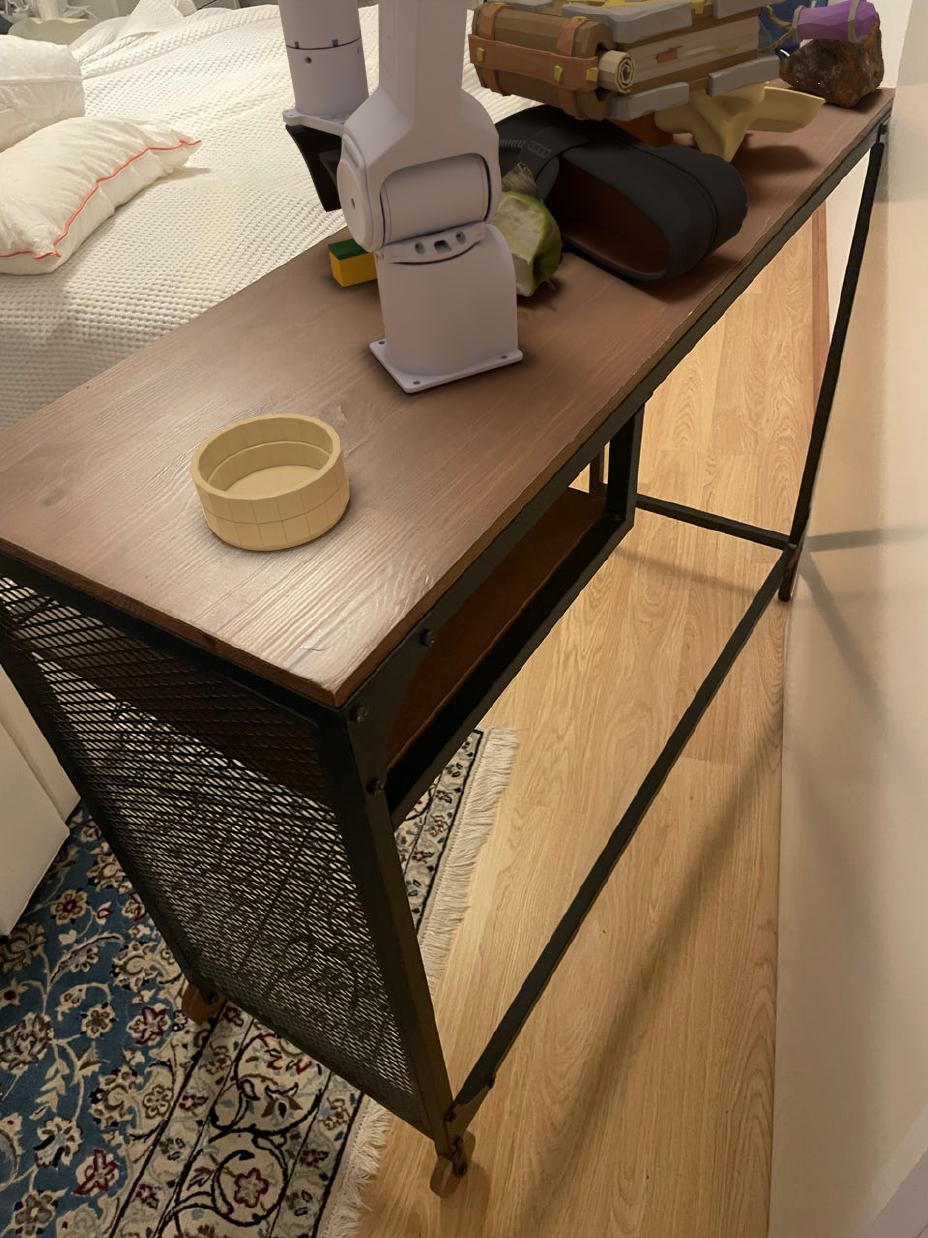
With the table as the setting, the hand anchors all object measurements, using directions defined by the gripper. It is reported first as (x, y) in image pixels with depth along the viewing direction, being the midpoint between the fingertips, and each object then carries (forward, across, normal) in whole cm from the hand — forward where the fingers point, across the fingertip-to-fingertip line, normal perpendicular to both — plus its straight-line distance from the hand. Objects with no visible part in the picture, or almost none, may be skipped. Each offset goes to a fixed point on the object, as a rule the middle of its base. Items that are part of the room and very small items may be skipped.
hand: (351, 223), depth 80 cm
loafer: (0, +3, +24) cm, 24 cm away
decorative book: (-4, +11, +29) cm, 31 cm away
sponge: (+5, 0, 0) cm, 5 cm away
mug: (+5, -15, +36) cm, 39 cm away
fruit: (0, +7, +13) cm, 15 cm away
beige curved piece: (-1, -6, +41) cm, 41 cm away
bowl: (+4, +29, -16) cm, 34 cm away
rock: (+3, -14, +59) cm, 61 cm away
